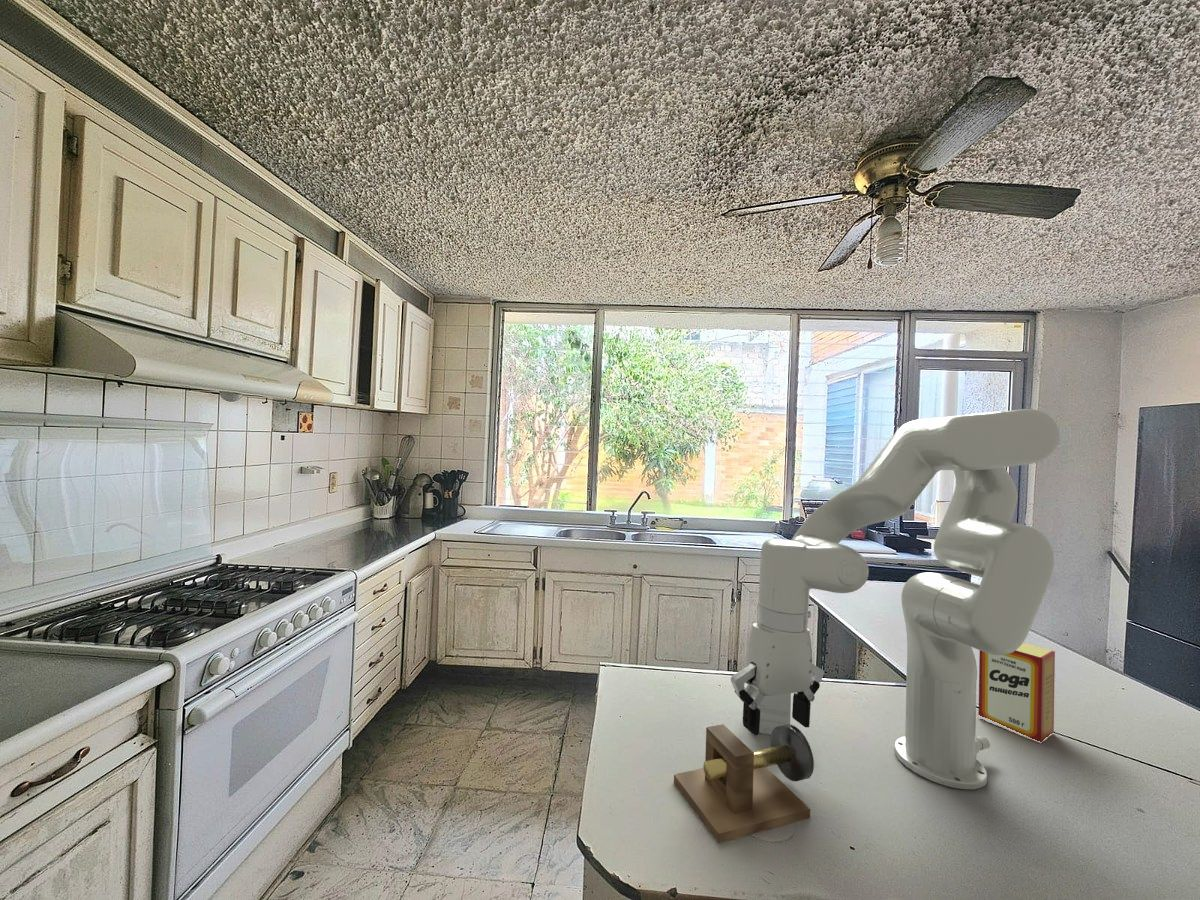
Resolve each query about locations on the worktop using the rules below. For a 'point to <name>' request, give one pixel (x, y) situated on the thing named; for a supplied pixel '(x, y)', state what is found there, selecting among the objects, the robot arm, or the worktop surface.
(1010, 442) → the robot arm
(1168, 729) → the worktop surface
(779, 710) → the supplement box
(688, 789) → the eye post
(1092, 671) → the worktop surface
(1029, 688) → the baking soda box
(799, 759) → the brass peg with disc
